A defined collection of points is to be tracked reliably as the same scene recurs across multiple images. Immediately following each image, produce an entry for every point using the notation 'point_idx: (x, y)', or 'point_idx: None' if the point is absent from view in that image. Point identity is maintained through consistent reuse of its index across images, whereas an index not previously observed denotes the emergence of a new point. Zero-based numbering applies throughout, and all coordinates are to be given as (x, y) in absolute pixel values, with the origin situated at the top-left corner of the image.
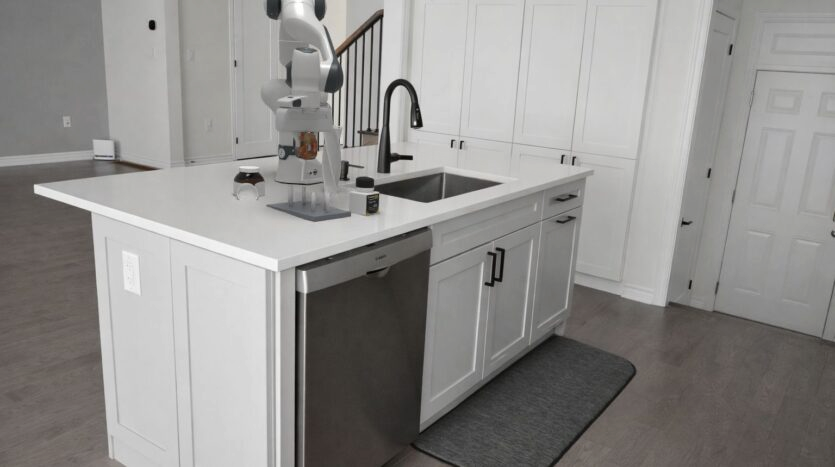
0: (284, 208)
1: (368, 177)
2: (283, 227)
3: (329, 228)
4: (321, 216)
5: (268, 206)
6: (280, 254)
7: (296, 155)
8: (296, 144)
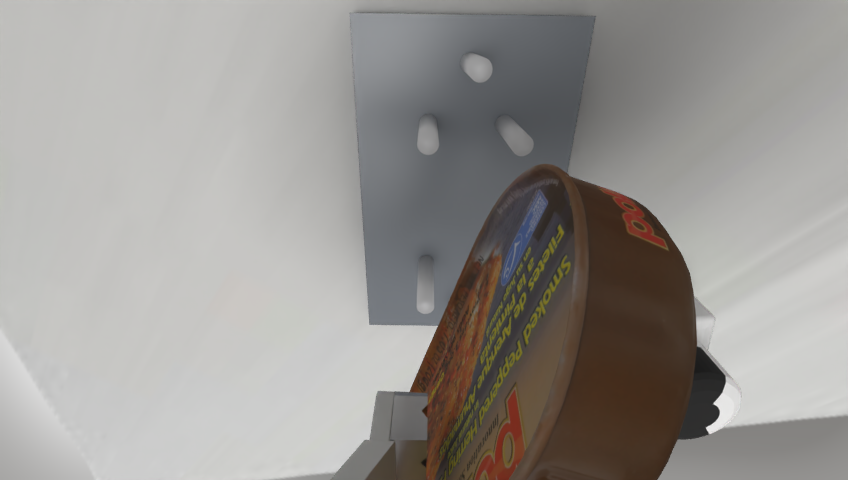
0: (369, 150)
1: (694, 431)
2: (240, 321)
3: (351, 388)
4: (400, 323)
5: (352, 33)
6: (122, 476)
7: (494, 216)
8: (375, 415)
